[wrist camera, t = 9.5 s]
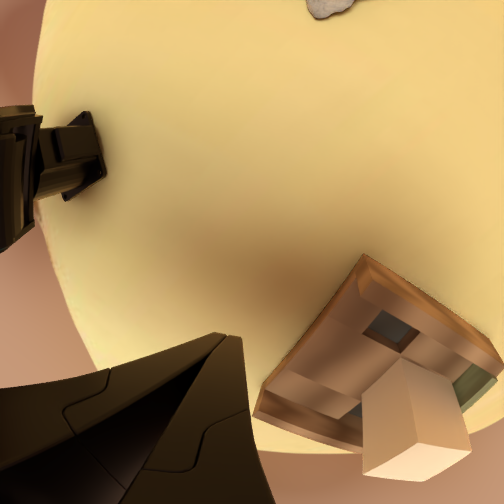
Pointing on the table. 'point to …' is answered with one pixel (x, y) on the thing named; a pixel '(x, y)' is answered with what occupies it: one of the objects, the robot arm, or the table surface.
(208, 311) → the table surface
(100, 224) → the table surface
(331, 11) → the stone
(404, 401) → the cream block
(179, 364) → the robot arm
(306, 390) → the tray
